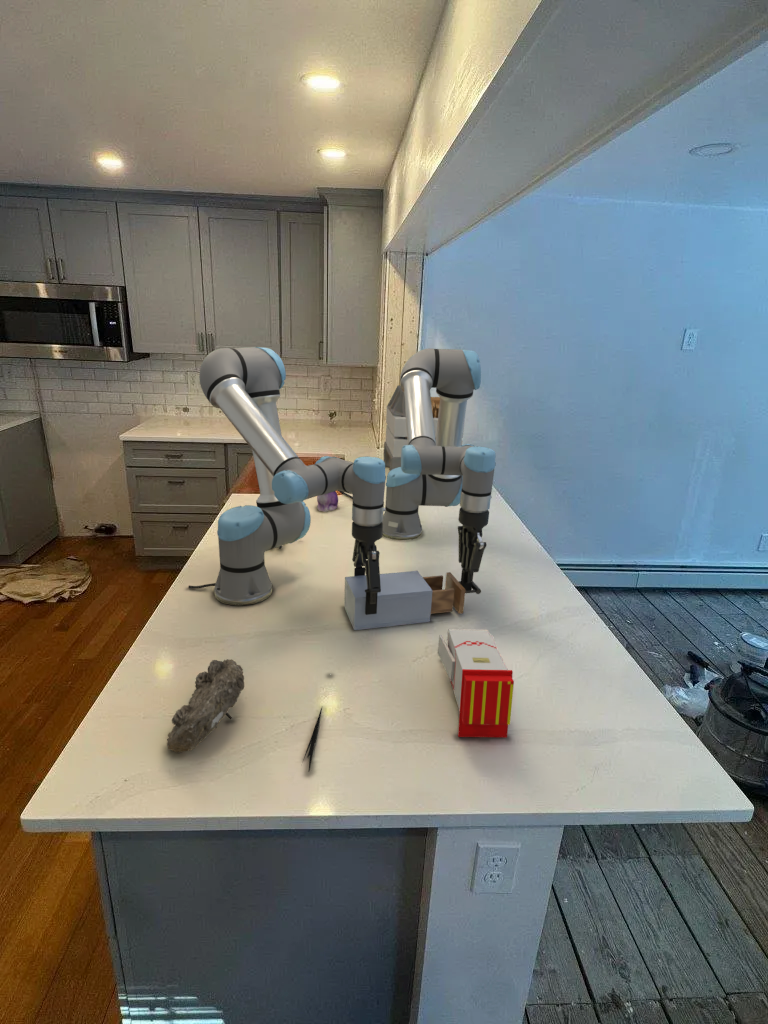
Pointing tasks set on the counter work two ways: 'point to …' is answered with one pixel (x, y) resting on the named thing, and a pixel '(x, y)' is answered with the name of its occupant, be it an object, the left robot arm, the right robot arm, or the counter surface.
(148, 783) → the counter surface
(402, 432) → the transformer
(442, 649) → the toy
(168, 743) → the fossil
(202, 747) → the counter surface
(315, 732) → the feather
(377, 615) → the cabinet
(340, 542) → the counter surface
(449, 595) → the drawer
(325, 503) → the figurine
